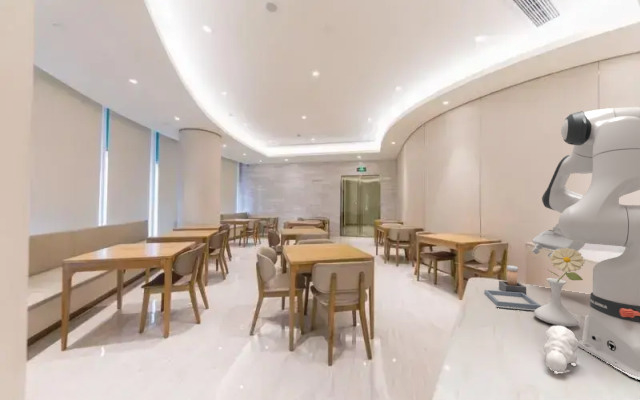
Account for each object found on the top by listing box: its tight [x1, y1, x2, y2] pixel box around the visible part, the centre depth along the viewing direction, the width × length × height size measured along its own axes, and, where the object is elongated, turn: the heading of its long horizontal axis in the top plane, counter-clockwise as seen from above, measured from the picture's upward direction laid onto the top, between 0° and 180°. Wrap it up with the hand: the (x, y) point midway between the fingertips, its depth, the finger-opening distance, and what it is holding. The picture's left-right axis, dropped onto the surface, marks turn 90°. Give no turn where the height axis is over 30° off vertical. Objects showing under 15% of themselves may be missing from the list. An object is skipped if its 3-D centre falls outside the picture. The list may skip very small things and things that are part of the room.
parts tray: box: [484, 289, 542, 313], centre depth 108 cm, size 14×14×2 cm
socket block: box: [498, 280, 527, 295], centre depth 118 cm, size 7×7×4 cm
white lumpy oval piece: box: [542, 325, 579, 373], centre depth 67 cm, size 6×8×12 cm
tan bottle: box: [506, 264, 519, 286], centre depth 118 cm, size 4×4×11 cm
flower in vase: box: [533, 248, 586, 328], centre depth 91 cm, size 13×11×25 cm
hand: (541, 255), depth 118 cm, fingers open, 8 cm apart
